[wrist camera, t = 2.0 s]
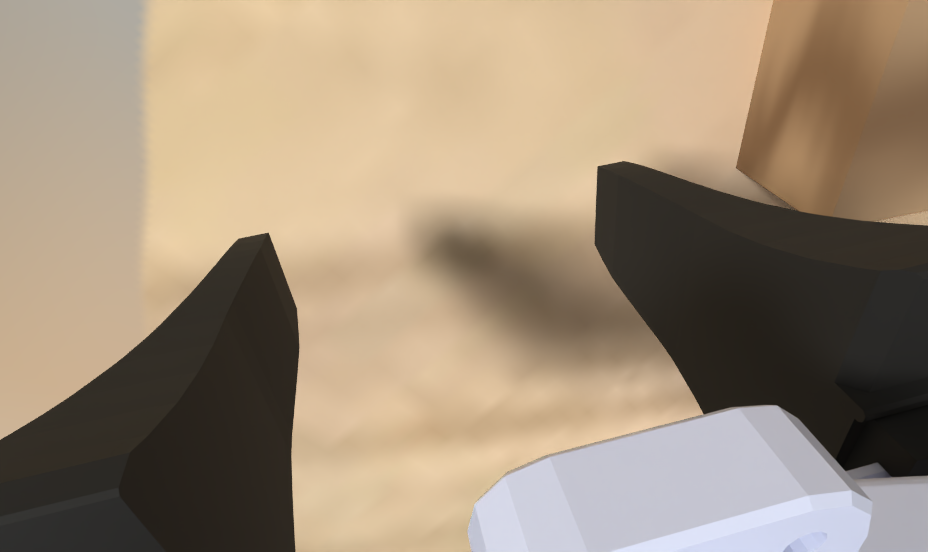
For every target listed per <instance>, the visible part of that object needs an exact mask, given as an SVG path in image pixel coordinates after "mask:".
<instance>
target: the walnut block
mask: <svg viewBox="0 0 928 552" xmlns="http://www.w3.org/2000/svg"><path fill="white" fill-rule="evenodd" d="M736 168H737V169H738V170H740V171H741V172H743V173H744V174H746V175H747V176H749V177H750V178H751V179H753V180H754V181H756V182H757V183H759V184H760V185H762V186H763V187H765V188H766V189H767V190H769V191H770V192H772V193H773V194H775V195H776V196H778V197H779V198H781V199H782V200H783V201H785V202H786V203H788V204H789V205H791V206H792V207H794V208H795V209H797V210H798V211H800V212H806V213H812V214H818V215H824V216H831V217H839V218H846V219H853V220H861V221H871V222H873V221H878V220H883V219H888V218H893V217H898V216H903V215H908V214H913V213H918V212H923V211H928V0H774V1H773V5H772V9H771V14H770V18H769V23H768V27H767V32H766V36H765V41H764V45H763V50H762V54H761V59H760V63H759V68H758V72H757V77H756V81H755V86H754V90H753V94H752V99H751V103H750V108H749V112H748V117H747V121H746V126H745V130H744V135H743V139H742V144H741V148H740V153H739V157H738V162H737V166H736Z"/></svg>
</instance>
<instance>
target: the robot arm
mask: <svg viewBox="0 0 928 552" xmlns="http://www.w3.org/2000/svg"><path fill="white" fill-rule="evenodd" d="M595 246H596V248H597V250H598V252H599V254H600V256H601V258H602V260H603V262H604V263H605V265H606V267H607V269H608V271H609V272H610V274H611V276H612V278H613V279H614V281H615V282H616V283H617V285H618V286H619V287H620V289H621V290H622V292H623V293H624V294H625V296H626V297H627V298H628V300H629V301H630V302H631V304H632V305H633V306H634V308H635V309H636V310H637V312H638V313H639V314H640V316H641V317H642V318H643V320H644V321H645V322H646V324H647V325H648V326H649V327H650V329H651V330H652V331H653V333H654V334H655V335H656V337H657V338H658V339H659V341H660V342H661V343H662V345H663V346H664V348H665V349H666V351H667V352H668V353H669V355H670V356H671V358H672V359H673V361H674V362H675V364H676V366H677V368H678V369H679V371H680V373H681V374H682V376H683V378H684V380H685V381H686V383H687V385H688V386H689V388H690V390H691V392H692V393H693V395H694V397H695V399H696V400H697V402H698V404H699V406H700V408H701V410H702V412H703V413H704V415H700V416H696V417H692V418H688V419H684V420H680V421H676V422H673V423H669V424H665V425H661V426H657V427H653V428H649V429H646V430H642V431H638V432H634V433H630V434H626V435H622V436H618V437H615V438H611V439H607V440H603V441H599V442H595V443H591V444H588V445H584V446H580V447H576V448H572V449H568V450H564V451H560V452H557V453H553V454H549V455H546V456H543V457H541V458H539V459H536V460H534V461H532V462H529V463H527V464H525V465H522V466H520V467H518V468H515V469H513V470H511V471H508V472H507V473H506V474H505V475H503V476H502V477H501V478H500V479H499V480H498V481H497V482H496V483H495V484H494V485H493V486H492V487H491V488H489V489H488V490H487V491H486V492H485V493H484V494H483V495H482V496H481V497H480V498H479V499H478V501H477V502H476V503H475V505H474V509H473V513H472V516H471V520H470V524H469V528H468V537H469V542H470V547H471V552H928V226H924V225H909V224H894V223H882V222H871V221H861V220H853V219H846V218H839V217H831V216H824V215H818V214H812V213H806V212H800V211H795V210H791V209H786V208H781V207H776V206H771V205H767V204H763V203H759V202H755V201H751V200H747V199H744V198H740V197H737V196H733V195H730V194H726V193H723V192H720V191H716V190H713V189H710V188H707V187H704V186H701V185H698V184H695V183H692V182H689V181H686V180H683V179H680V178H677V177H674V176H672V175H669V174H666V173H663V172H660V171H657V170H654V169H651V168H648V167H645V166H641V165H638V164H634V163H630V162H625V161H622V162H617V163H613V164H608V165H603V166H598V169H597V196H596V222H595ZM298 359H299V332H298V318H297V308H296V305H295V303H294V300H293V297H292V294H291V292H290V289H289V286H288V284H287V281H286V278H285V276H284V273H283V270H282V268H281V265H280V262H279V260H278V257H277V254H276V251H275V249H274V246H273V243H272V241H271V238H270V235H269V233H265V234H260V235H255V236H250V237H245V238H240V239H238V240H237V241H236V242H235V243H234V244H233V245H232V246H231V247H230V248H229V250H228V251H227V252H226V253H225V254H224V255H223V257H222V258H221V259H220V260H219V261H218V263H217V264H216V265H215V266H214V267H213V268H212V270H211V271H210V272H209V273H208V274H207V275H206V277H205V278H204V279H203V280H202V281H201V282H200V283H199V285H198V286H197V287H196V288H195V289H194V290H193V291H192V293H191V294H190V295H189V296H188V297H187V298H186V299H185V300H184V301H183V302H182V303H181V304H180V305H179V306H178V307H177V308H176V309H175V310H174V311H173V312H172V313H171V314H170V315H169V316H168V317H167V318H166V320H165V321H164V322H163V323H162V324H161V325H160V326H158V327H157V328H156V329H155V330H154V331H153V332H152V333H151V334H150V335H149V336H148V337H147V338H145V339H144V340H143V341H142V342H141V343H140V344H139V345H137V346H136V347H135V348H134V349H133V350H132V351H130V352H129V353H128V354H127V355H126V356H124V357H123V358H122V359H121V360H119V361H118V362H117V363H116V364H114V365H113V366H112V367H110V368H109V369H108V370H106V371H105V372H103V373H102V374H101V375H99V376H98V377H97V378H96V379H94V380H93V381H91V382H90V383H88V384H87V385H86V386H84V387H83V388H81V389H80V390H79V391H77V392H76V393H75V394H73V395H72V396H70V397H69V398H67V399H66V400H64V401H63V402H61V403H60V404H58V405H57V406H55V407H54V408H52V409H51V410H49V411H47V412H46V413H44V414H43V415H41V416H40V417H38V418H36V419H35V420H33V421H31V422H30V423H28V424H27V425H25V426H23V427H21V428H20V429H18V430H16V431H15V432H13V433H11V434H10V435H8V436H6V437H4V438H3V439H1V440H0V552H295V538H294V517H293V497H292V464H291V448H292V429H293V418H294V406H295V395H296V383H297V371H298Z"/></svg>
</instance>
